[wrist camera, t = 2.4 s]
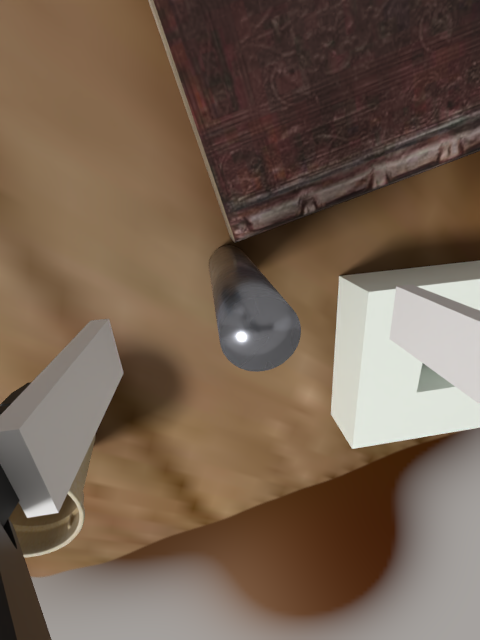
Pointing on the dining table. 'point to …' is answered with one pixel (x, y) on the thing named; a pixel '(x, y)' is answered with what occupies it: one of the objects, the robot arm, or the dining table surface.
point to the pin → (250, 313)
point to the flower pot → (53, 519)
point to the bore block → (395, 360)
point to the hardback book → (321, 97)
